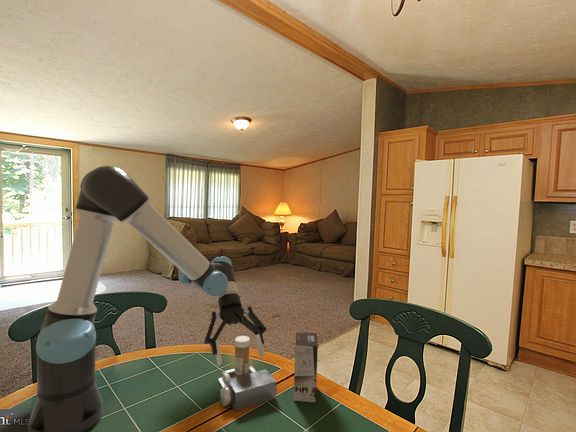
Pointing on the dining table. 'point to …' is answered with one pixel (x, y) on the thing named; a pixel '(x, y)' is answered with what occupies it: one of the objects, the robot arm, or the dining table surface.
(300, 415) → the dining table surface
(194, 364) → the dining table surface
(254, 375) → the grey open drawer box
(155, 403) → the dining table surface
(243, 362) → the sprinkles bottle
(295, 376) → the coffee box
